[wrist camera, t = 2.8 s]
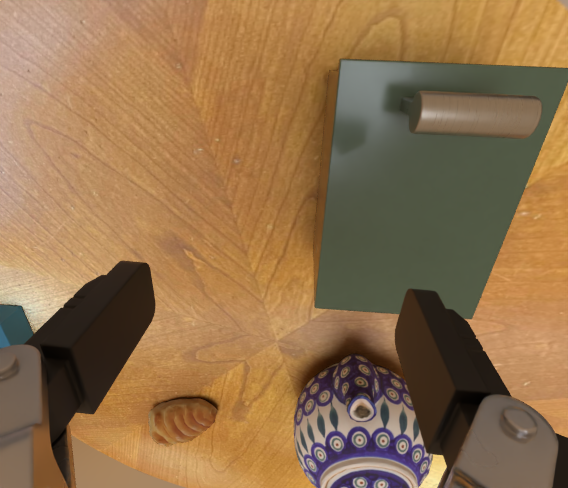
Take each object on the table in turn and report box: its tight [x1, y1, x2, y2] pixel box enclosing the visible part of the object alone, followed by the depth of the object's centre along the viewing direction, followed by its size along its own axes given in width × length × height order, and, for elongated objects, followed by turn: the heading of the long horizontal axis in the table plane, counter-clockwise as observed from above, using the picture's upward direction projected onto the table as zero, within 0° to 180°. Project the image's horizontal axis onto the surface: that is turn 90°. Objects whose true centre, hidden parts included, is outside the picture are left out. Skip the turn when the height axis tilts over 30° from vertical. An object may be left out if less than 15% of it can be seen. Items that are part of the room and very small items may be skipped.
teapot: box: [294, 354, 433, 488], centre depth 37 cm, size 25×15×15 cm, turn 6°
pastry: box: [149, 398, 217, 447], centre depth 46 cm, size 9×7×4 cm
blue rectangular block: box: [0, 305, 34, 349], centre depth 40 cm, size 7×4×3 cm, turn 178°
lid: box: [314, 59, 568, 319], centre depth 19 cm, size 16×12×5 cm
